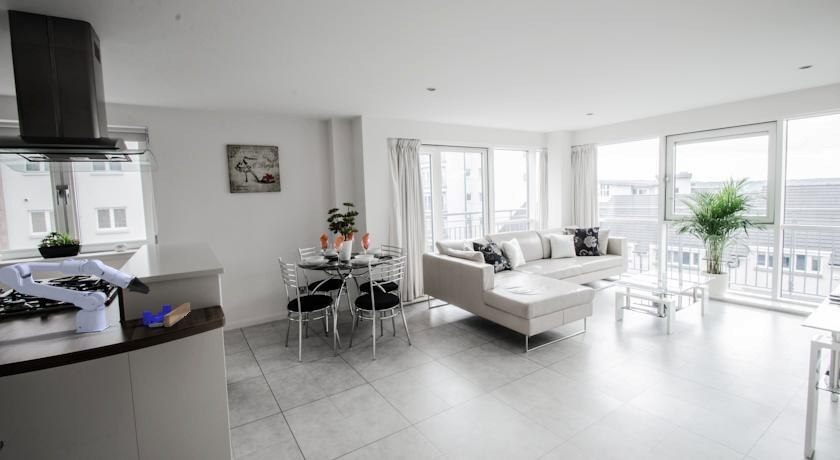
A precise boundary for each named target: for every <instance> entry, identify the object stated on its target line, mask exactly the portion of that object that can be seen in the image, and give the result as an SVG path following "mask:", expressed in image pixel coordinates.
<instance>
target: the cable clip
mask: <svg viewBox="0 0 840 460" xmlns="http://www.w3.org/2000/svg"><path fill="white" fill-rule="evenodd" d="M171 311H172V305H171V304H163V305H162V310H161V311H159V312H158V313H156V315H155V316H154V315H153V312H152V311H147V310H145V311H143V312H142V319H143V320H142V321H143V323H142V324H143V326H149V324H151V323H161V322H163V321H165V319H164V316H165V315H166V314H168V313H170V312H171Z"/></svg>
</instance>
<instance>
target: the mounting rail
mask: <svg viewBox="0 0 840 460" xmlns="http://www.w3.org/2000/svg"><path fill="white" fill-rule="evenodd" d="M155 327H156V328H157V327H165V320H162V322H157V323H151V324H149V325H148V328H155Z"/></svg>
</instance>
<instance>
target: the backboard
mask: <svg viewBox="0 0 840 460" xmlns="http://www.w3.org/2000/svg"><path fill="white" fill-rule="evenodd" d="M189 312H192V311H191V302H184V303H183V304H181V305H179V306H178V307H176V308H175V309H173V310H171V312H170V313H168V314H166V315H165V316H164V319H165V320H164V321H165V326H164V327H165V328H168V327H169V328H171V327H172V326H173V325H175V324H176V323H178V322H179V321H180V320H182V319H183V318H184V316H185V317H186V316H187V314H188V313H189ZM189 314H190V313H189ZM189 314H188V315H189Z"/></svg>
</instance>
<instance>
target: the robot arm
mask: <svg viewBox="0 0 840 460" xmlns="http://www.w3.org/2000/svg"><path fill="white" fill-rule="evenodd" d="M37 272H61V273H62V274H64V275H76V274H77V275H83V274H85V275H86V276H95V277H97V278H99V279H101V280H103V281H106V282H109V283H111V284H113V285H116V286H117V287H120V288H121V289H129V290H128V292H130V293H131V292H133V293H139V294H142V295H143V294H144V295H148V294H149V293H150V291H151V290H150V286H148V285H147V284H145V283H144V282H143V281H141V280H140V279H139V278H138V277H137V276H135V273H132V274H131V275H130V274H127V273H125V272H123V271H122V270H121V271H120V270H119V269H116V268H115V267H112V266H109V265H106V264H104V262H103V261H101V259H90V260H88V259H87V258H85V259H81V260H79V259H78V260H74V258H68V259H66V260H63V261H62V262H46V261H45V262H40V261H39V262H38V261H28V262H18V263H14V264H12V265H6V266H3V267H1V268H0V282H1V284H5V285H7V286H9V288H11V289H13V290H15V291H16V292H17V293H19V294H22V295H26V296H27V295H28V296H32V297H33V296H34V297H37V298H38V297H39V298H43V299H44V298H45V299H48V300H53V301H59V302H65V303H70V304H74V306H75V307H79V308H81V309H80V310H79V311H77V313H76V315H75V321H76V322H75V323H76V331H75V333H76V334H77V333H80V334H81V333H93V332H94V333H95V332H102V331H104V330H106V329H108V328H109V327H112V326H113V324H112V323H111V324H110V323H109V324H108V322H107V312H106V311H107V308H106V304H105V303H106V302H107V299H108V298H107V295H106V293H104V292H103V291H80V290H74V289H69V288H63V287H60V286H55V285H54V286H53V285H49V284H44V283H39V282H35V280H34V279H33V273H37ZM134 276H135V277H134Z"/></svg>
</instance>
